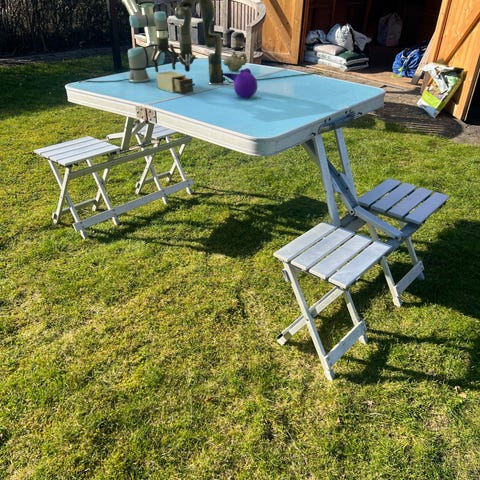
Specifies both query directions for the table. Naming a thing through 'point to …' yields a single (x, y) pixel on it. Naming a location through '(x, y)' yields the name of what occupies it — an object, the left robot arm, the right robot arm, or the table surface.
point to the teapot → (235, 62)
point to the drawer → (183, 84)
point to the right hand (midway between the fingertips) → (187, 71)
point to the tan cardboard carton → (167, 80)
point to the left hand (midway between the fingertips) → (165, 70)
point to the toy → (243, 83)
